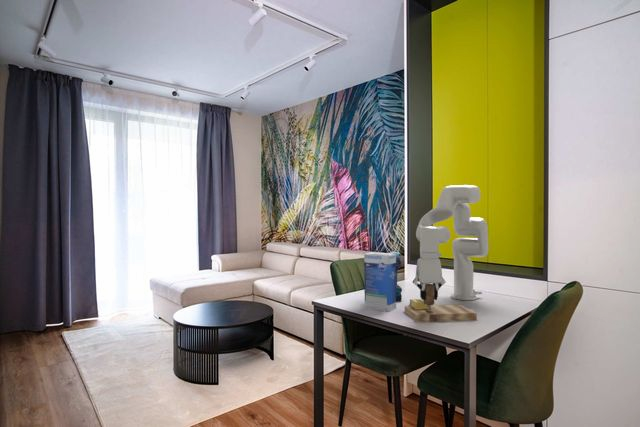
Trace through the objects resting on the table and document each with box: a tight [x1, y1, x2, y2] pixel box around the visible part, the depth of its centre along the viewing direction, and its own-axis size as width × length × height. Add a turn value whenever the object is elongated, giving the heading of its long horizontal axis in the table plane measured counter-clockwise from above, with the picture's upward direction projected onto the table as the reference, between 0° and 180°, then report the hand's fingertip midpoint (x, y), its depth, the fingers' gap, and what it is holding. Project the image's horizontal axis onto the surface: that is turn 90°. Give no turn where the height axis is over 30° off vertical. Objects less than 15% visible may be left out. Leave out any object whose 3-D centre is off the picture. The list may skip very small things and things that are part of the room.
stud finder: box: [410, 298, 427, 309], centre depth 158 cm, size 7×5×3 cm
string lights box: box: [363, 251, 397, 312], centre depth 168 cm, size 13×8×26 cm, turn 52°
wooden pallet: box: [404, 304, 478, 323], centre depth 155 cm, size 26×15×3 cm, turn 97°
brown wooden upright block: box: [424, 283, 435, 310], centre depth 152 cm, size 4×4×10 cm
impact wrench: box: [388, 250, 403, 303], centre depth 185 cm, size 8×23×25 cm, turn 174°
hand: (428, 298), depth 152 cm, fingers closed on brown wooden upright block, 4 cm apart
